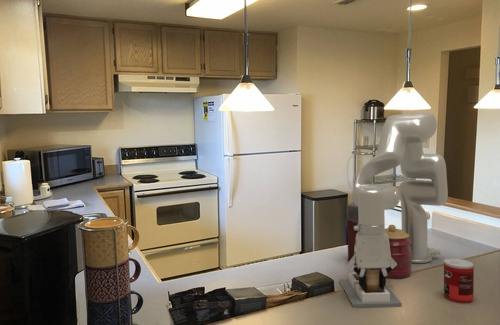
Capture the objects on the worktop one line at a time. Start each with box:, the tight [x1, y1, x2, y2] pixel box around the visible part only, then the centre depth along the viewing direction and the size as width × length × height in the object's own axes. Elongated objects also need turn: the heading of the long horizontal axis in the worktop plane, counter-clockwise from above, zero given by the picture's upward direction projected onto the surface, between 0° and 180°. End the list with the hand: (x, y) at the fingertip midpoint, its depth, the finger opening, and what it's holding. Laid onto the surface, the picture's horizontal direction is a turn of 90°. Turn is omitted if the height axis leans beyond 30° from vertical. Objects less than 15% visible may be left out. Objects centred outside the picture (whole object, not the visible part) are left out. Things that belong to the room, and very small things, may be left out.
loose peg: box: [364, 268, 380, 293], centre depth 119 cm, size 4×4×9 cm
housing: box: [338, 272, 402, 308], centre depth 124 cm, size 14×20×4 cm
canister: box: [379, 224, 413, 279], centre depth 141 cm, size 13×13×18 cm
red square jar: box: [346, 202, 359, 266], centre depth 153 cm, size 9×11×28 cm
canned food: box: [443, 258, 475, 304], centre depth 118 cm, size 8×8×11 cm
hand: (372, 287), depth 119 cm, fingers open, 5 cm apart
